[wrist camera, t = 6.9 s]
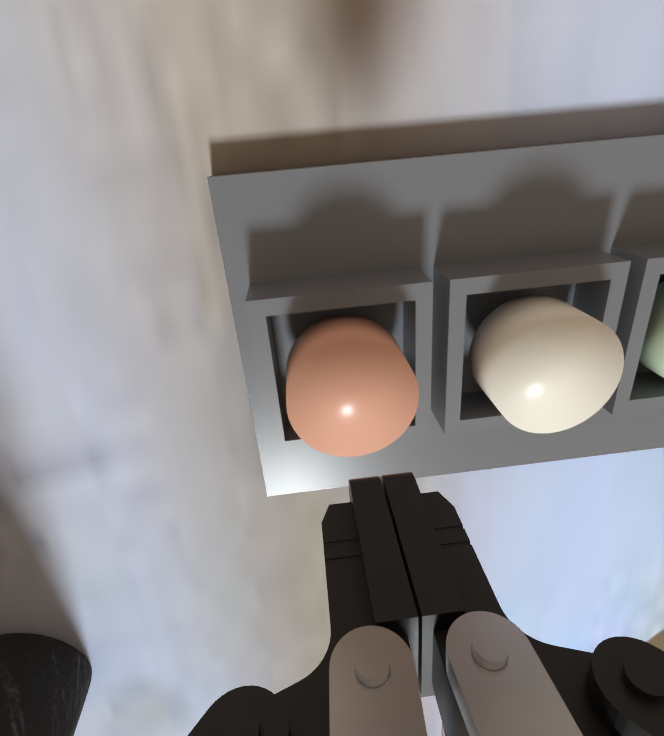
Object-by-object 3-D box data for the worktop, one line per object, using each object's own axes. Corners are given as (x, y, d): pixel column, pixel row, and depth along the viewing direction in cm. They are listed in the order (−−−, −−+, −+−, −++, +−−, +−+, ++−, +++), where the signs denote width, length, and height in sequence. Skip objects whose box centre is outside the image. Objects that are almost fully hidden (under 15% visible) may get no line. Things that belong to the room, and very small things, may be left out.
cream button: (472, 300, 16) (501, 324, 14) (589, 287, 17) (636, 309, 14) (465, 404, 18) (490, 440, 16) (571, 391, 19) (610, 425, 16)
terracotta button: (278, 321, 16) (277, 349, 14) (401, 307, 16) (419, 333, 14) (293, 424, 18) (294, 463, 16) (402, 411, 18) (418, 448, 16)
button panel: (211, 175, 16) (196, 181, 13) (798, 120, 17) (894, 116, 14) (268, 482, 22) (265, 528, 20) (695, 429, 23) (748, 466, 21)
